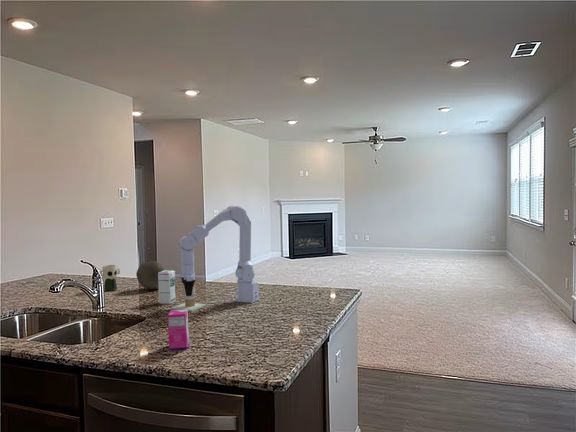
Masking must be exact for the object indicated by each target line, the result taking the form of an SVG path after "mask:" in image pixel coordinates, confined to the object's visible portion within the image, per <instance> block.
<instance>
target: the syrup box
mask: <svg viewBox="0 0 576 432" xmlns="http://www.w3.org/2000/svg"><path fill="white" fill-rule="evenodd" d="M158 282H159V288H158V300H159V302H158V303H159V304H164V305H167V304H168V305H169V304H172V303H175V302H177V292H176V291H177V290H176V270H173V269H171V270H170V269H169V270H167V269H166V270H165V269H164V271H162V272H159V273H158Z"/></svg>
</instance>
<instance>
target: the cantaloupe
mask: <svg viewBox="0 0 576 432" xmlns="http://www.w3.org/2000/svg"><path fill="white" fill-rule="evenodd" d="M164 270H165V269H164V266H162V264H161V263H160V262H159V261H158V262H157V261H155V260H149V261H145V262H142V263H141V264H140V265H139V266H138V268H137V270H136V275H135V276H136V279H137V281H138V283H139V284H140V285H141V287H143V288H145V289H146V290H147V289H148V290H156V289H159V282H158V273H159V272H162V271H164Z"/></svg>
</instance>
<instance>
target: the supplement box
mask: <svg viewBox="0 0 576 432" xmlns="http://www.w3.org/2000/svg"><path fill="white" fill-rule="evenodd" d="M188 312H189V311H188V310H172V309H170V311H169V312H168V314H167V328H168V329H167V330H168V331H167V333H168V334H167V335H168V350H169V351H178V350H188V348H189V345H190V333H189V315H188Z"/></svg>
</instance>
